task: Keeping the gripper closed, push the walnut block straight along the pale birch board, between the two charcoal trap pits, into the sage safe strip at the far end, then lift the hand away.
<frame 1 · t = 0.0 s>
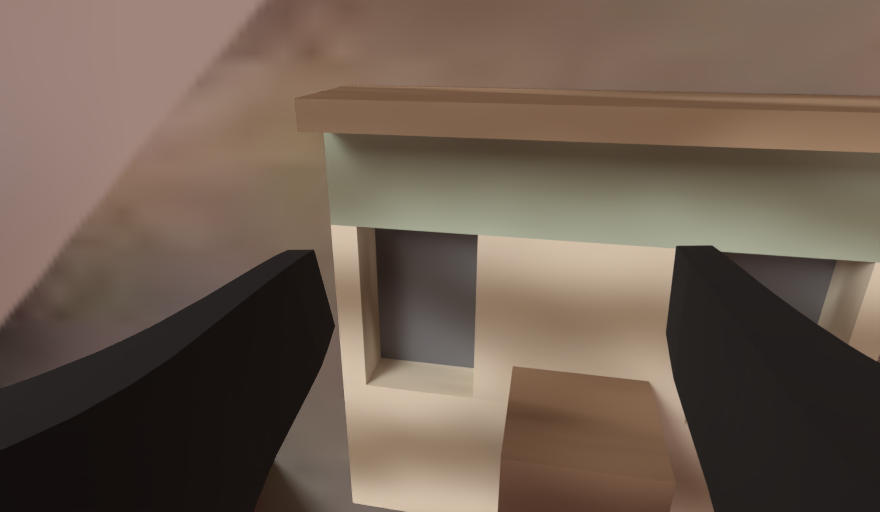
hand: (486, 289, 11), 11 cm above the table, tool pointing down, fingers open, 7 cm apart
trap board: (578, 323, 22), on the table
block: (573, 426, 21), point 2 cm above the table, touching trap board
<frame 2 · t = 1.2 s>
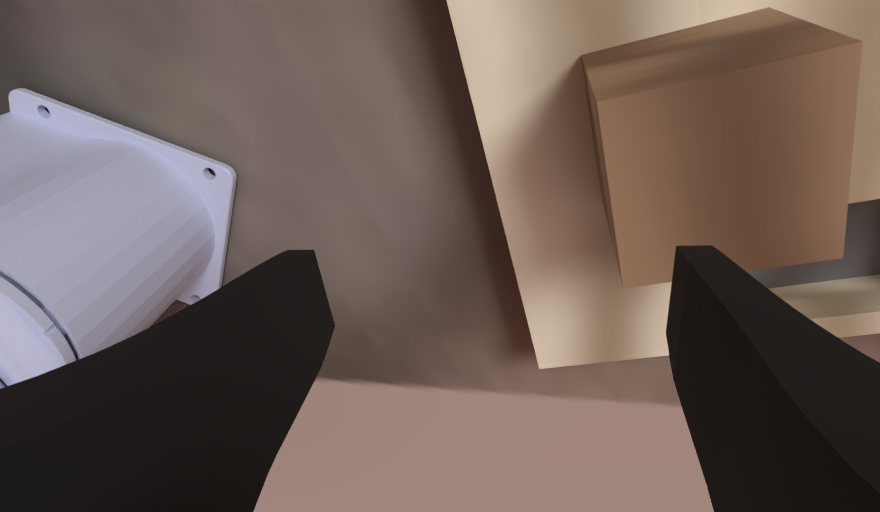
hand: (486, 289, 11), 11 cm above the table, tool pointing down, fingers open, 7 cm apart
trap board: (766, 70, 18), on the table
block: (676, 116, 17), point 2 cm above the table, touching trap board
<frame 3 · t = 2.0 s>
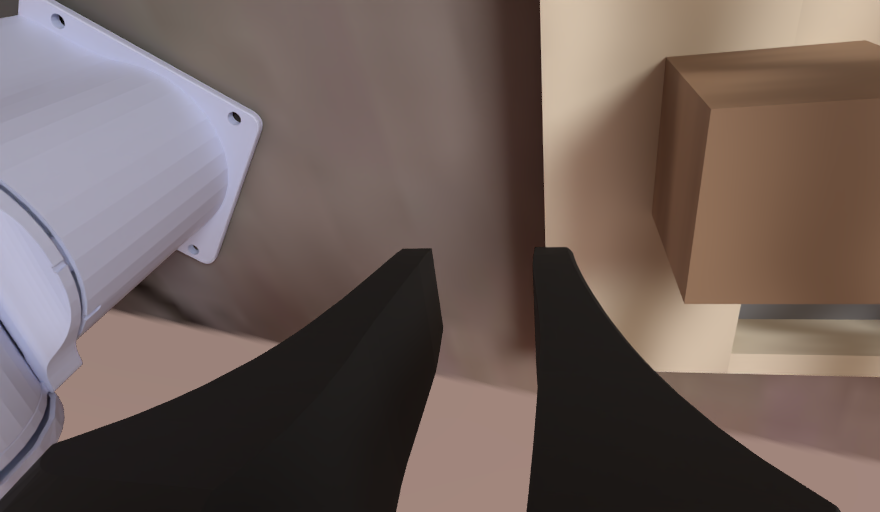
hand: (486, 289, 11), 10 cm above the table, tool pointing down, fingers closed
trap board: (832, 104, 18), on the table
block: (747, 136, 16), point 2 cm above the table, touching trap board
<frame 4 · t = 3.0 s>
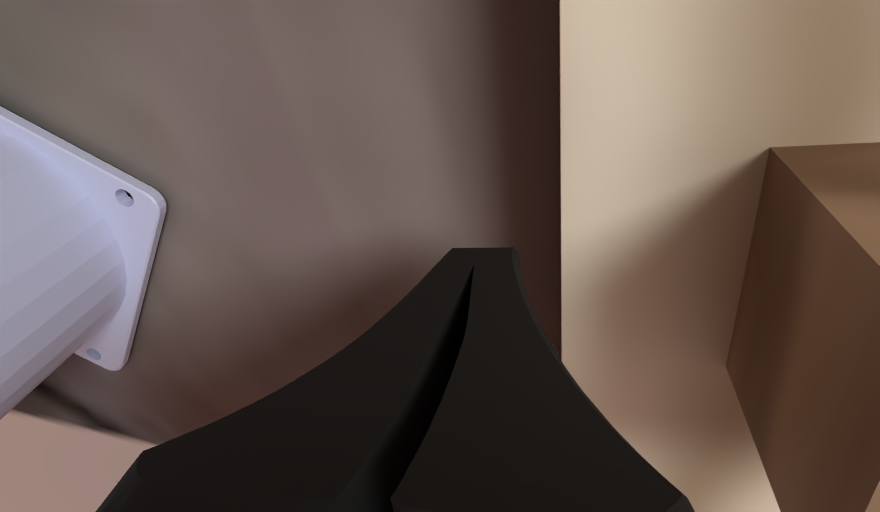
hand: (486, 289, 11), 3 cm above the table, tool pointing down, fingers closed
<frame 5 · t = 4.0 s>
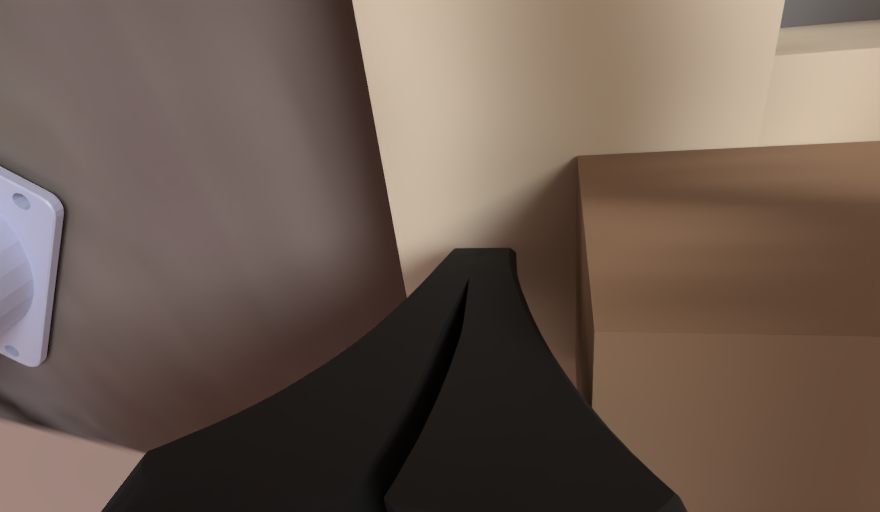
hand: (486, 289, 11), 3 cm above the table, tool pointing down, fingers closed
trap board: (825, 207, 12), on the table
block: (707, 269, 11), point 3 cm above the table, touching gripper
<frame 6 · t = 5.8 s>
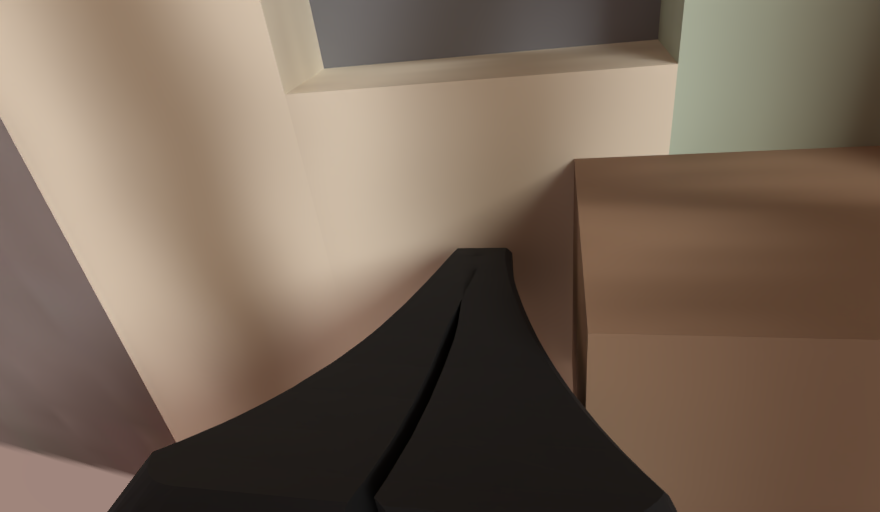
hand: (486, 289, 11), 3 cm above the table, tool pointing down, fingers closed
trap board: (455, 217, 14), on the table
block: (703, 272, 11), point 3 cm above the table, touching gripper, trap board
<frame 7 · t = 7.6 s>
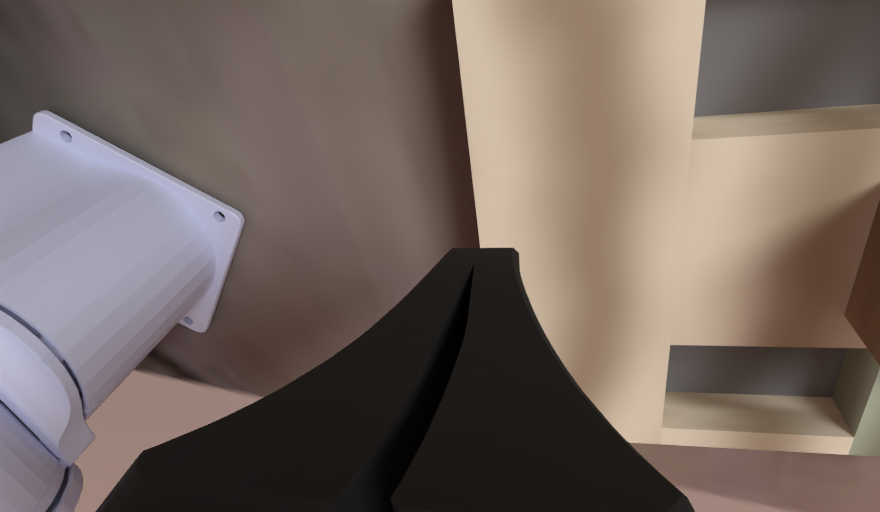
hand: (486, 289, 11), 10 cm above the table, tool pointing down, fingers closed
trap board: (740, 216, 20), on the table
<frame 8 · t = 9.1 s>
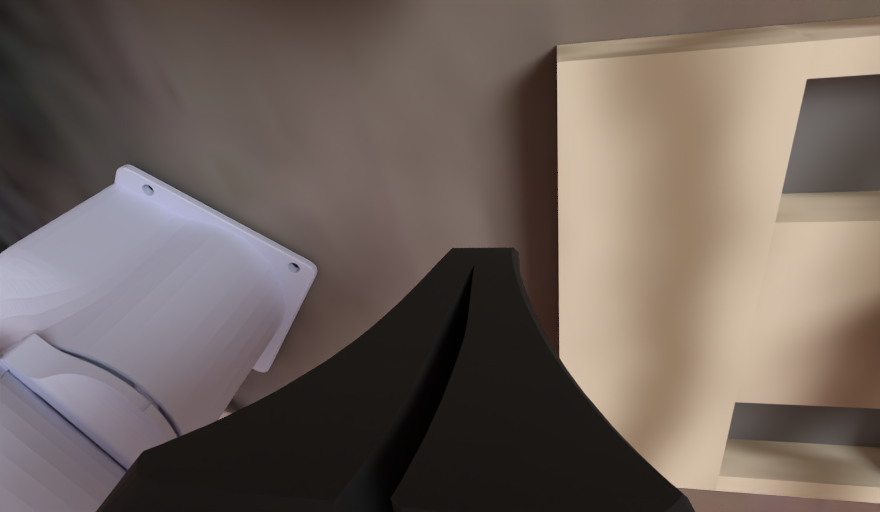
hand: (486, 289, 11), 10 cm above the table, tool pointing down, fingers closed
trap board: (804, 282, 21), on the table
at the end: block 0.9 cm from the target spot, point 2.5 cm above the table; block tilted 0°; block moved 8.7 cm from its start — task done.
